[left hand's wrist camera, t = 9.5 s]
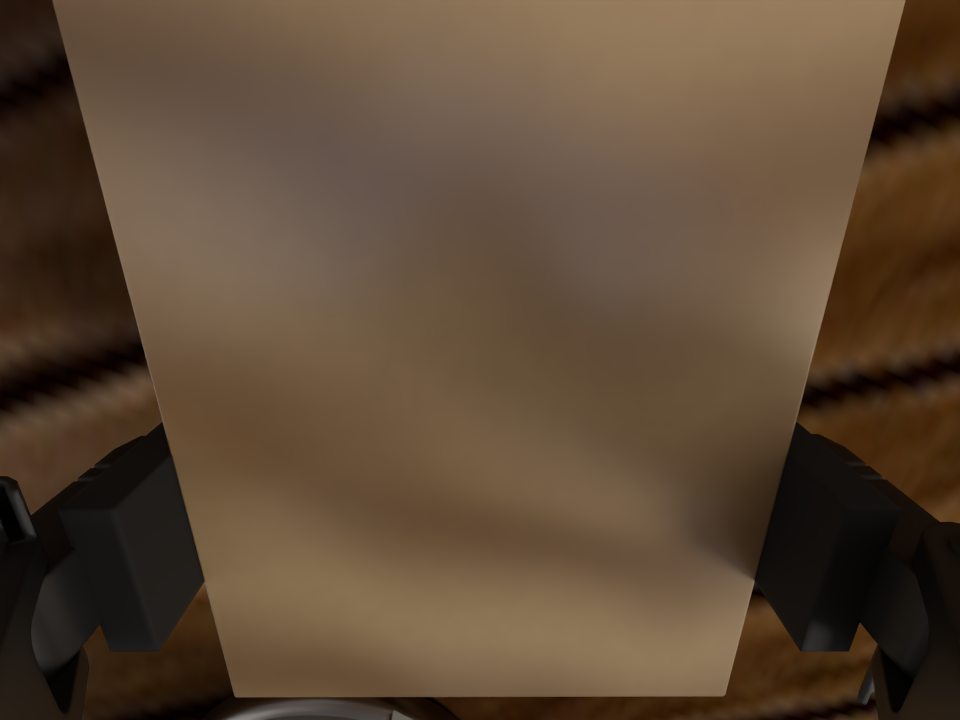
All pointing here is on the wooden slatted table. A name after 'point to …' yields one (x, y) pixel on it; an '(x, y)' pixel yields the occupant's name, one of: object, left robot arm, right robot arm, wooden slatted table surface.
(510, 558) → the cabinet
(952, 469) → the wooden slatted table surface
